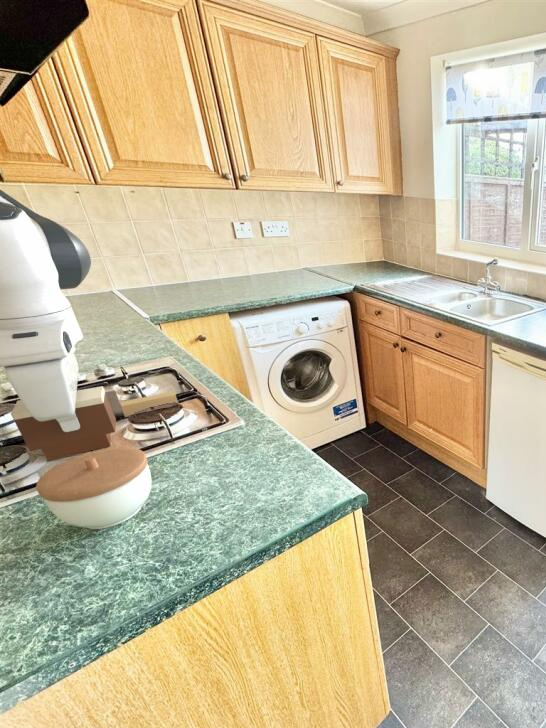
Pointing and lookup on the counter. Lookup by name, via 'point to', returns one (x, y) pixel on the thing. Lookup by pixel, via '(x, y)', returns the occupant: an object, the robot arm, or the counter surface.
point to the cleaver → (137, 403)
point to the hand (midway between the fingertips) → (73, 420)
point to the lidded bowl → (97, 487)
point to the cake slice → (49, 433)
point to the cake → (76, 447)
